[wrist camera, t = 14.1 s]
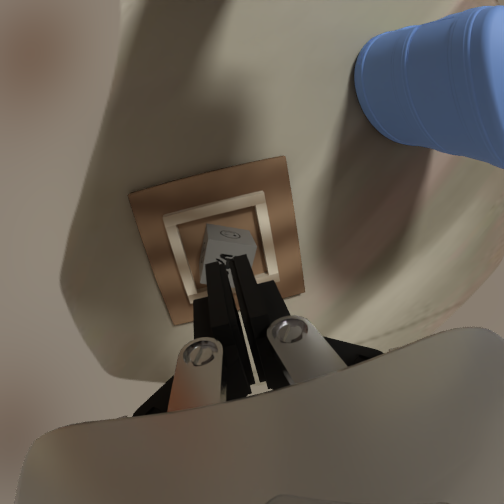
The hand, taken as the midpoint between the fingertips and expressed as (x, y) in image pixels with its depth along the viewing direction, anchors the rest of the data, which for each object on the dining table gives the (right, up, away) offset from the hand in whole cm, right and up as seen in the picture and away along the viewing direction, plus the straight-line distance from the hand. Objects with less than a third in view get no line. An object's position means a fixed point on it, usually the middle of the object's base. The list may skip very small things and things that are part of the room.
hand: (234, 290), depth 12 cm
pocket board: (-3, +2, +25) cm, 25 cm away
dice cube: (-3, +2, +24) cm, 24 cm away
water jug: (+20, +23, +20) cm, 37 cm away
